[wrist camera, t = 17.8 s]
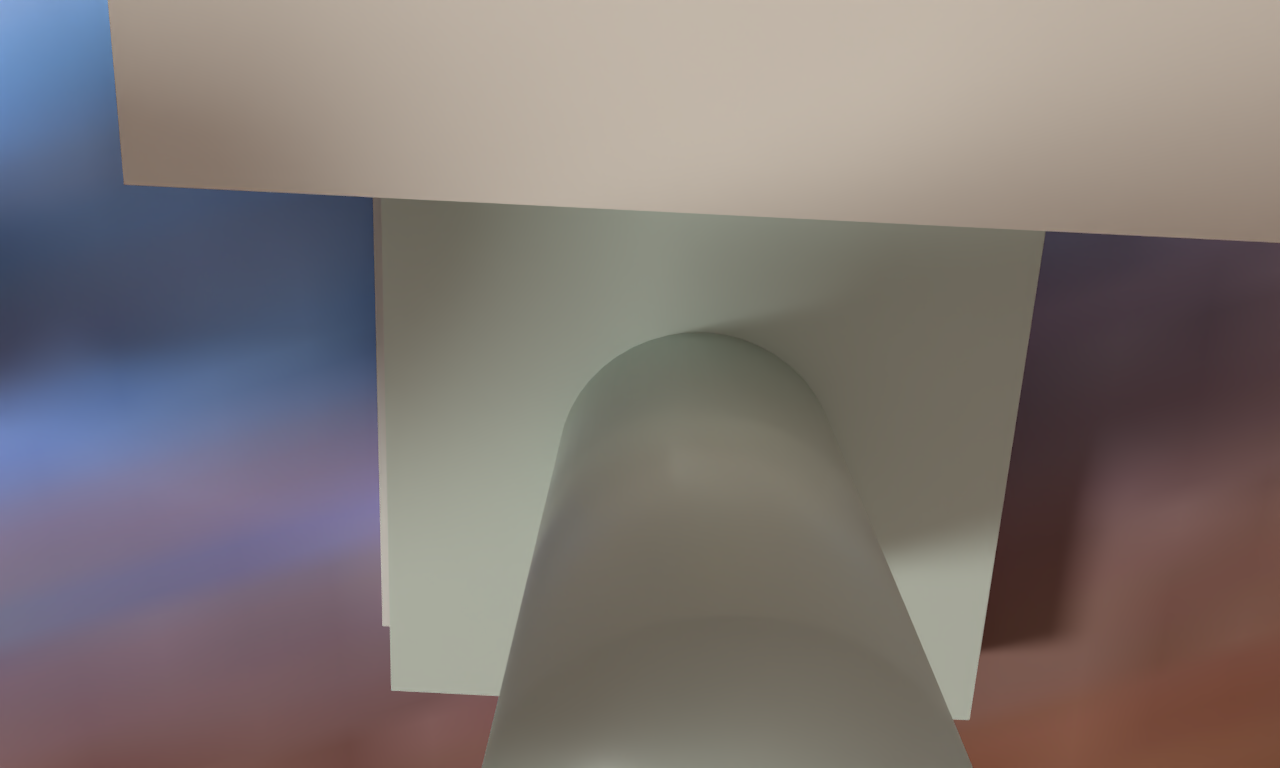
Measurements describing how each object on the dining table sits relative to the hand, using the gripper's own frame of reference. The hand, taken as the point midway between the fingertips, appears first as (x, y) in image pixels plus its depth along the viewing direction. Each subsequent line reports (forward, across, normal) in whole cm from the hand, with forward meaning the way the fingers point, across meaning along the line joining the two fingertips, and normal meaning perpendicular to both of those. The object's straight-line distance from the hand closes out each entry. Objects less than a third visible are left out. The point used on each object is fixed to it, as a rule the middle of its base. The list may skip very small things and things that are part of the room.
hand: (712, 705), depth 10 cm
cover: (+8, 0, -1) cm, 8 cm away
